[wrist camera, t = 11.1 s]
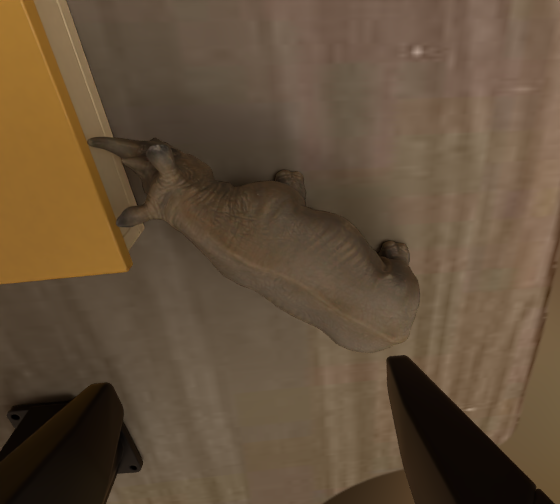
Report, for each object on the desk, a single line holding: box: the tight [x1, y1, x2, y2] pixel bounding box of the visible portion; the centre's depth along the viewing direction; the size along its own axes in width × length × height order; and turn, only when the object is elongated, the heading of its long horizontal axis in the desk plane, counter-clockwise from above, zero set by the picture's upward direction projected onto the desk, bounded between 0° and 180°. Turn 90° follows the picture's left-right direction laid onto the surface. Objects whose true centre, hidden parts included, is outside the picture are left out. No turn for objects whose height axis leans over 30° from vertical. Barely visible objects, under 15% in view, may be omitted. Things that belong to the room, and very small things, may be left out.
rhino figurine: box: [87, 137, 420, 353], centre depth 15 cm, size 4×14×6 cm, turn 58°
